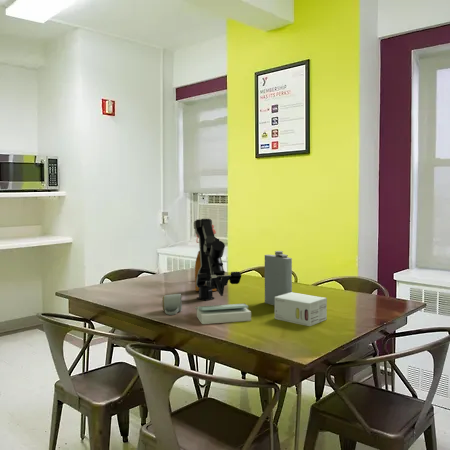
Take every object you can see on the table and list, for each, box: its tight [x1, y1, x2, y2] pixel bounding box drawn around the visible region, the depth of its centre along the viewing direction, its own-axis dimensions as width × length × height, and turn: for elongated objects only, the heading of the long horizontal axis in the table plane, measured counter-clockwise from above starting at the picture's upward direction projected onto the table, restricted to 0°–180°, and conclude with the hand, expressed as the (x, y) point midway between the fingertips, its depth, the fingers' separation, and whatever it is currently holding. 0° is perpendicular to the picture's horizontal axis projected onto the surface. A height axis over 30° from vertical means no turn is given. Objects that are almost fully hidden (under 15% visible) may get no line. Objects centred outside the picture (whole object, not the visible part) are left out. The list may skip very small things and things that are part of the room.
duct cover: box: [197, 303, 249, 311], centre depth 191 cm, size 19×9×1 cm, turn 104°
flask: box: [264, 250, 293, 306], centre depth 212 cm, size 17×5×25 cm, turn 31°
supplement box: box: [274, 291, 328, 327], centre depth 188 cm, size 17×13×9 cm
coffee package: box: [194, 250, 217, 292], centre depth 246 cm, size 10×12×22 cm
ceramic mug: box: [161, 293, 183, 316], centre depth 202 cm, size 11×8×8 cm
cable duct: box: [194, 303, 252, 325], centre depth 191 cm, size 21×12×4 cm, turn 104°
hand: (222, 295), depth 193 cm, fingers closed
